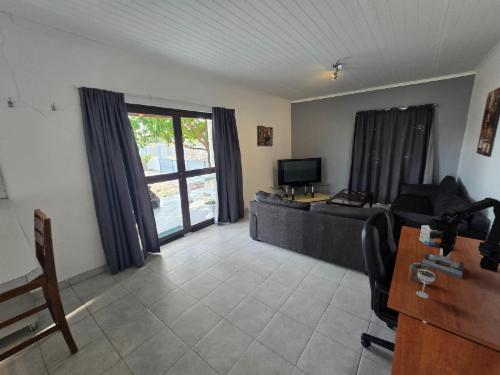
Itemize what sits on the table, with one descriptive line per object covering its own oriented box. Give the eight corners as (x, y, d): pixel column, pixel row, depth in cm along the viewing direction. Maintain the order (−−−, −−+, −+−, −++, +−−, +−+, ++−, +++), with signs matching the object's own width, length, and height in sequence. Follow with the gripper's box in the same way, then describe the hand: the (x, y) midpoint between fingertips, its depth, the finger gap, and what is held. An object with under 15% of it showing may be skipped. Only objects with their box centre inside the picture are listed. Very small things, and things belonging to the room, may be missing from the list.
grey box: (408, 279, 115) (411, 263, 112) (407, 276, 118) (410, 260, 115) (427, 284, 111) (430, 267, 109) (425, 280, 114) (429, 264, 112)
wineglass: (414, 287, 109) (418, 266, 106) (431, 293, 105) (435, 272, 102) (413, 295, 104) (417, 273, 101) (431, 301, 100) (436, 279, 97)
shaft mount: (463, 267, 124) (465, 259, 123) (461, 278, 115) (463, 269, 113) (426, 256, 136) (427, 248, 135) (421, 265, 127) (423, 257, 126)
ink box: (435, 245, 148) (438, 230, 146) (427, 245, 148) (431, 230, 146) (425, 239, 157) (428, 225, 154) (418, 239, 157) (421, 225, 154)
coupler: (450, 257, 124) (452, 246, 122) (449, 260, 121) (451, 249, 119) (439, 254, 127) (441, 243, 125) (438, 257, 124) (440, 246, 122)
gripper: (434, 221, 132) (430, 244, 135) (429, 230, 119) (424, 255, 123) (459, 226, 124) (453, 250, 127) (456, 237, 111) (450, 263, 115)
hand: (445, 254), depth 123 cm, fingers closed on coupler, 4 cm apart
